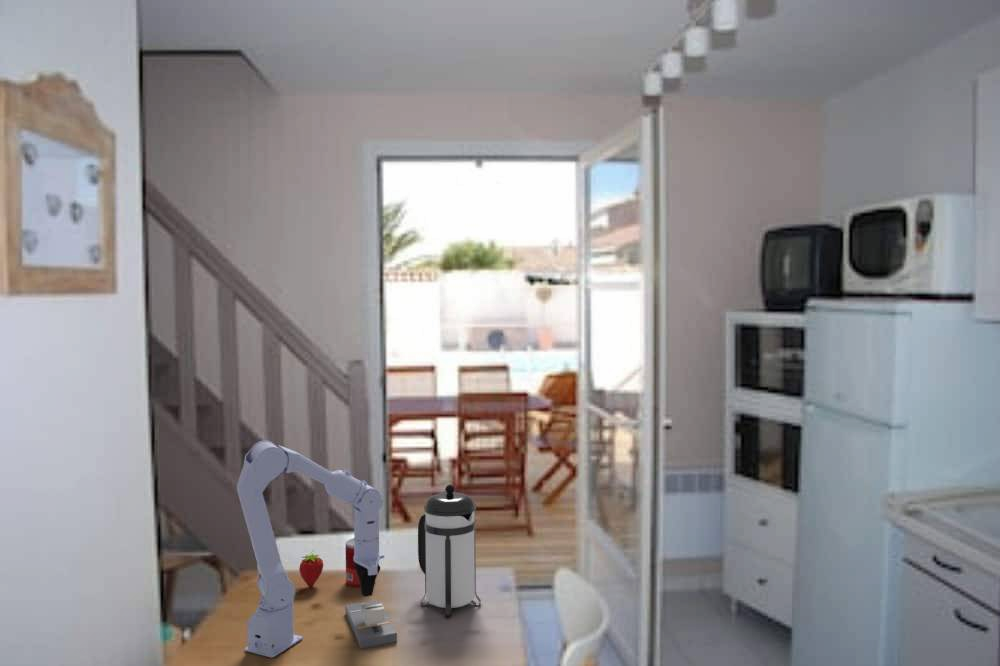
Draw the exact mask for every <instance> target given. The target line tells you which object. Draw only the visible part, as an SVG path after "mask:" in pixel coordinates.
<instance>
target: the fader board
mask: <svg viewBox="0 0 1000 666" xmlns="http://www.w3.org/2000/svg"><path fill="white" fill-rule="evenodd" d="M375 604H382V603H381V602H380V600H379V599H374V600H369V601H362V602H357V603H351V604H345V615H346V618H347V620H348V622H349V625H350V628H351V629H352V632H353V633H354V634H353V635H354V636H355V639H356V641H357V644H358V646H359V648H360V650H361V649H367V648H373V647H378V646H382V645H389V644H393V643H398V633H397V630H396V629H395V627H394V625H393V623H392V622H391V620H390V618H389V616H388V614H387V612H386V610H385V609H384V622H381V623H377V626H373V627H372V626H371V624H370V625H366V623H365V621H364V606H369V605H375Z"/></svg>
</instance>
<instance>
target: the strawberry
mask: <svg viewBox="0 0 1000 666" xmlns="http://www.w3.org/2000/svg"><path fill="white" fill-rule="evenodd" d="M313 552H314V550H312V551H311V552H310V553H309V555H307V554H306V555H305V556H301V558H303V559H302V560H301V562H300V565H299V573H300V577H301V578H302V580H303V581H304V582H305V584H306V585H307V587H309V588H312V587H314V585H315V583H316V582H317V581H318V580H319V577H320V575H322V572H323V569H324V560H323V559H322V558H321V557H318V556H320V554H314V553H313Z"/></svg>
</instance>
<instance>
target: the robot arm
mask: <svg viewBox="0 0 1000 666" xmlns="http://www.w3.org/2000/svg"><path fill="white" fill-rule="evenodd" d="M283 472H284V473H286V474H290V473H294V472H298V473H300V474H303V475H304V476H307V477H308V478H310V479H311V480H312V479H313V480H314V481H317V482H319V483H321V484H323V485H324V488H325V492H326V493H327V494H329V495H330V496H332V497H335V498H337V499H339V500H340V501H342V502H344V503H346V504H348V505H352V506H353V507H354V518H353V520H354V522H353V524H354V527H353V530H354V531H353V532H354V537H353V538H354V562H355V563H357V564H354V568H355V570H356V572H357V575H358V578H359V583H360V587H359V588H360V592H361V595H362V597H363V598H364V597H365V598H366V597H370V596H373V592H374V589H375V583H376V579H377V576H378V575H379V573H380V571H381V565H380V564H379V563H380V560H381V559H384V558H385V553H383V552H380V510H381V508H382V507H383V505H384V499H382V497H383V496H382V495H381V493H380V491H379V490H377V489H375V487H372V486H371V485H369V484H368V482H367V481H365V480H364V479H361V480H360V479H358V478H356V477H354V476H352V475H351V474H352V473H351V472H350V471H348V470H346V469H344V470H341V469H338V470H334V471H330V470H328V469H327V468H325V467H323V466H321V465H320V464H318V463H316V462H314V461H313V460H311V459H309V458H307V456H305V455H302V454H301V453H299V452H297V451H295V450H294V449H293V450H292V449H290V448H287V447H286V446H282V445H279V444H278V446H277V445H276V444H275V443H274V442H272V441H270V440H260V441H257V442H256V443H254V444H253V446H251V448H249V451H248V452H247V453H246V454H245V455H244V461H243V466H242V469H241V472H240V475H239V478H238V480H237V484H236V492H237V494H238V498H239V502H240V506H241V510H242V513H243V516H244V520H245V524H246V527H247V530H248V534H249V538H250V542H251V546H252V549H253V552H254V556H255V559H256V562H257V565H256V566H257V567H256V569H257V572H258V577H257V580H256V584H257V585H256V586H257V589H258V591H259V592H260V593H261V597H260V599H259V601H258V606H257V609H256V610H255V612H254V613H252V615H250V616H249V618H248V621H247V623H246V624H247V625H246V626H247V628H246V629H247V632H246V634H247V646H246V647H245V648H244V651H245V652H249V653H253V654H256V655H259V656H263V657H266V658H275V657H277V656H279V654H281V653H283V652H285V651H286V650H287V649H289V648H291V647H292V646H294V645H295V644H297V643H298V642H300V641H301V640H303V636H302V635H297V634H295V633H294V631H295V630H294V629H295V627H294V625H295V622H294V599H295V596H296V587H295V585H294V583H293V582H292V581H291V580H290V579H289V578H288V575H287V571H286V570H285V568H284V565H283V562H282V560H281V556H280V553H279V549H278V544H277V540H276V538H275V534H274V531H273V527H272V523H271V519H270V515H269V512H268V509H267V505H266V502H265V501H266V500H265V498H264V494H263V493H264V491H265V489H266V488H267V486H269V484H270V483H271V481H273V480H274V479H275V478H277V477H278V476H279V475H281V473H283Z"/></svg>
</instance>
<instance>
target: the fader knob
mask: <svg viewBox="0 0 1000 666" xmlns="http://www.w3.org/2000/svg"><path fill="white" fill-rule="evenodd" d="M384 610H385V607H384V606H383V604H382V603H381V604H375V605H369V606H364V621H365V623H366V625H370V624H371V626H372V627H373V626H377V623H381V622H384Z"/></svg>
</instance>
